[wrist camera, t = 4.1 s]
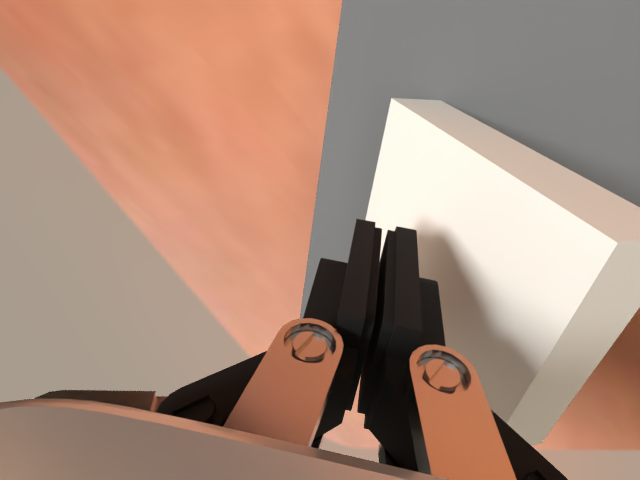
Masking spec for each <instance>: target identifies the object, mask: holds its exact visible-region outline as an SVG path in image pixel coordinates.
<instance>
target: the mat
mask: <svg viewBox="0 0 640 480" xmlns="http://www.w3.org/2000/svg"><path fill="white" fill-rule="evenodd" d="M391 98H402V99H424V100H441V101H443V102H445V103H447V104H448V105H450V106H452V107H454V108H456V109H458V110H460V111H461V112H463V113H465V114H467V115H469V116H471V117H473V118H474V119H476V120H478V121H480V122H482V123H484V124H486V125H487V126H489V127H491V128H493V129H495V130H497V131H499V132H501V133H502V134H504V135H506V136H508V137H510V138H512V139H514V140H515V141H517V142H519V143H521V144H523V145H525V146H527V147H528V148H530V149H532V150H534V151H536V152H538V153H540V154H541V155H543V156H545V157H547V158H549V159H551V160H553V161H554V162H556V163H558V164H560V165H562V166H564V167H566V168H567V169H569V170H571V171H573V172H575V173H577V174H579V175H580V176H582V177H584V178H586V179H588V180H590V181H592V182H593V183H595V184H597V185H599V186H601V187H603V188H605V189H606V190H608V191H610V192H612V193H614V194H616V195H618V196H619V197H621V198H623V199H625V200H627V201H629V202H631V203H633V204H634V205H636V206H638V207H640V0H343V1H342V8H341V16H340V23H339V31H338V38H337V46H336V53H335V61H334V68H333V76H332V83H331V90H330V98H329V105H328V113H327V120H326V128H325V135H324V143H323V150H322V157H321V165H320V172H319V180H318V187H317V195H316V202H315V210H314V217H313V225H312V232H311V239H310V247H309V254H308V262H307V269H306V277H305V284H304V292H303V299H302V307H301V314H300V318H303V316H304V313H305V309H306V306H307V303H308V299H309V296H310V292H311V289H312V286H313V282H314V279H315V275H316V272H317V268H318V265H319V262H320V259H321V258H326V259H331V260H336V261H341V262H346V263H348V259H349V254H350V249H351V244H352V239H353V234H354V229H355V224H356V219H362V220H365V219H366V215H367V210H368V205H369V201H370V196H371V191H372V187H373V182H374V177H375V172H376V168H377V163H378V158H379V154H380V149H381V144H382V140H383V135H384V130H385V126H386V121H387V116H388V111H389V107H390V102H391Z"/></svg>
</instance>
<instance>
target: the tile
mask: <svg viewBox="0 0 640 480" xmlns="http://www.w3.org/2000/svg"><path fill="white" fill-rule="evenodd" d="M365 220H367V221H372V222H376V223H375V227H377V228H382V238H381V251H380V258H381V254H382V250H383V246H384V242H385V238H386V234H387V231H388V230H392V231H395V229H396V226H398V227H404V228H409V229H414V230H416V231H417V245H418V261H419V277H420V278H425V279H430V280H435V281H437V282H438V287H439V295H440V304H441V312H442V320H443V328H444V336H445V344H446V347H448V348H450V349H452V350H455V351H457V352H458V353H460V354H461V355H462V356H464V357H465V358H466V359H467V360H468V361H469V362H470V363H471V364H472V365H473V367H474V369H475V371H476V372H477V374H478V377H479V380H480V382H481V385H482V388H483V390H484V393H485V396H486V398H487V401H488V404H489V407H490V409H491V410H492V411H494V412H495V413H496V414H497V415H498V416H499V417H500V418H501V419H502V420H503V421H505V422H506V423H507V424H508V425H509V426H510V427H511V428H512V429H513V430H514V431H516V432H517V433H518V434H519V435H520V436H521V437H522V438H523V439H524V440H525V441H527V442H528V443H529V444H530V445H531V446H533V445H536V444H539V443H542V442H543V440H544V439H545V437H546V436H547V435H548V433H549V432H550V430H551V429H552V428H553V426H554V425H555V424H556V422H557V421H558V419H559V418H560V417H561V415H562V414H563V412H564V411H565V410H566V408H567V407H568V406H569V404H570V403H571V401H572V400H573V399H574V397H575V396H576V395H577V393H578V392H579V390H580V389H581V388H582V386H583V385H584V383H585V382H586V381H587V379H588V378H589V377H590V375H591V374H592V372H593V371H594V370H595V368H596V367H597V365H598V364H599V363H600V361H601V360H602V359H603V357H604V356H605V354H606V353H607V352H608V350H609V349H610V348H611V346H612V345H613V343H614V342H615V341H616V339H617V338H618V336H619V335H620V334H621V332H622V331H623V330H624V328H625V327H626V325H627V324H628V323H629V321H630V320H631V319H632V317H633V316H634V314H635V313H636V312H637V310H638V309H639V307H640V207H638V206H636V205H634V204H633V203H631V202H629V201H627V200H625V199H623V198H621V197H619V196H618V195H616V194H614V193H612V192H610V191H608V190H606V189H605V188H603V187H601V186H599V185H597V184H595V183H593V182H592V181H590V180H588V179H586V178H584V177H582V176H580V175H579V174H577V173H575V172H573V171H571V170H569V169H567V168H566V167H564V166H562V165H560V164H558V163H556V162H554V161H553V160H551V159H549V158H547V157H545V156H543V155H541V154H540V153H538V152H536V151H534V150H532V149H530V148H528V147H527V146H525V145H523V144H521V143H519V142H517V141H515V140H514V139H512V138H510V137H508V136H506V135H504V134H502V133H501V132H499V131H497V130H495V129H493V128H491V127H489V126H487V125H486V124H484V123H482V122H480V121H478V120H476V119H474V118H473V117H471V116H469V115H467V114H465V113H463V112H461V111H460V110H458V109H456V108H454V107H452V106H450V105H448V104H447V103H445V102H443V101H441V100H424V99H402V98H391V102H390V107H389V111H388V116H387V121H386V126H385V130H384V135H383V140H382V144H381V149H380V154H379V158H378V163H377V168H376V172H375V177H374V182H373V187H372V191H371V196H370V201H369V205H368V210H367V215H366V219H365Z"/></svg>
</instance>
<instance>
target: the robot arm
mask: <svg viewBox="0 0 640 480" xmlns="http://www.w3.org/2000/svg"><path fill="white" fill-rule="evenodd" d="M375 223H376V222H372V221H367V220H362V219H356V224H355V229H354V234H353V239H352V244H351V249H350V254H349V259H348V263H346V262H341V261H336V260H331V259H326V258H321V259H320V262H319V265H318V268H317V272H316V275H315V279H314V282H313V286H312V289H311V292H310V296H309V299H308V303H307V306H306V309H305V313H304V316H303V318H300V319H296V320H293V321H290V322H289V323H287V324H285V325H284V326H283V327H282V328H281V329H280V331H279V332H278V333H277V335H276V337H275V339H274V340H273V342H272V344H271V345H270V347H269V349H268V351H266V352H263V353H261V354H259V355H256V356H254V357H252V358H249V359H247V360H245V361H242V362H240V363H238V364H236V365H233V366H231V367H228V368H226V369H224V370H222V371H219V372H217V373H215V374H212V375H210V376H207V377H205V378H203V379H201V380H198V381H196V382H194V383H191V384H189V385H186V386H184V387H182V388H180V389H178V390H176V391H175V392H173V393H171V394H170V395H169V396H167V397H165V396H161V397H160V396H156V391H107V390H59V391H52V392H48V393H45V394H43V395H40V396H38V397H35V398H34V399H24V400H16V401H8V402H0V480H568V479H567V478H566V477H565V476H564V475H563V474H562V473H561V472H559V471H558V470H557V469H556V468H555V467H554V466H553V465H552V464H551V463H550V462H548V461H547V460H546V459H545V458H544V457H543V456H542V455H541V454H540V453H539V452H537V451H536V450H535V449H534V448H533V447H532V446H531V445H530V444H529V443H528V442H527V441H525V440H524V439H523V438H522V437H521V436H520V435H519V434H518V433H517V432H516V431H514V430H513V429H512V428H511V427H510V426H509V425H508V424H507V423H506V422H505V421H503V420H502V419H501V418H500V417H499V416H498V415H497V414H496V413H495V412H494V411H492V410H491V409H490V407H489V404H488V401H487V398H486V396H485V393H484V390H483V388H482V385H481V382H480V380H479V377H478V374H477V372H476V371H475V369H474V367H473V365H472V364H471V363H470V362H469V361H468V360H467V359H466V358H465V357H464V356H462V355H461V354H460V353H458V352H457V351H455V350H452V349H450V348H448V347H446V344H445V336H444V328H443V320H442V312H441V304H440V295H439V287H438V282H437V281H435V280H430V279H425V278H420V277H419V261H418V245H417V231H416V230H414V229H409V228H404V227H398V226H396V229H395V231H392V230H388V231H387V234H386V238H385V242H384V246H383V250H382V254H381V258H380V251H381V238H382V228H377V227H375ZM360 376H361V380H360V390H359V400H358V413H363V414H365V422H364V428H365V429H369V430H370V431H371V432H372V433H373V435H374V436H375V437H376V438H377V440H378V441H379V442H380V444H379V450H378V457H379V463H377V462H373V461H369V460H364V459H360V458H356V457H352V456H347V455H342V454H339V453H334V452H330V451H325V450H322V449H320V447H321V445H322V442H323V437H324V434H325V433H326V432H328V431H330V430H331V429H333V428H334V427H336V426H338V425H339V424H341V423H342V420H343V417H344V413H345V410H349V411H351V409H352V405H353V402H354V398H355V394H356V390H357V387H358V383H359V379H360Z"/></svg>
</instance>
